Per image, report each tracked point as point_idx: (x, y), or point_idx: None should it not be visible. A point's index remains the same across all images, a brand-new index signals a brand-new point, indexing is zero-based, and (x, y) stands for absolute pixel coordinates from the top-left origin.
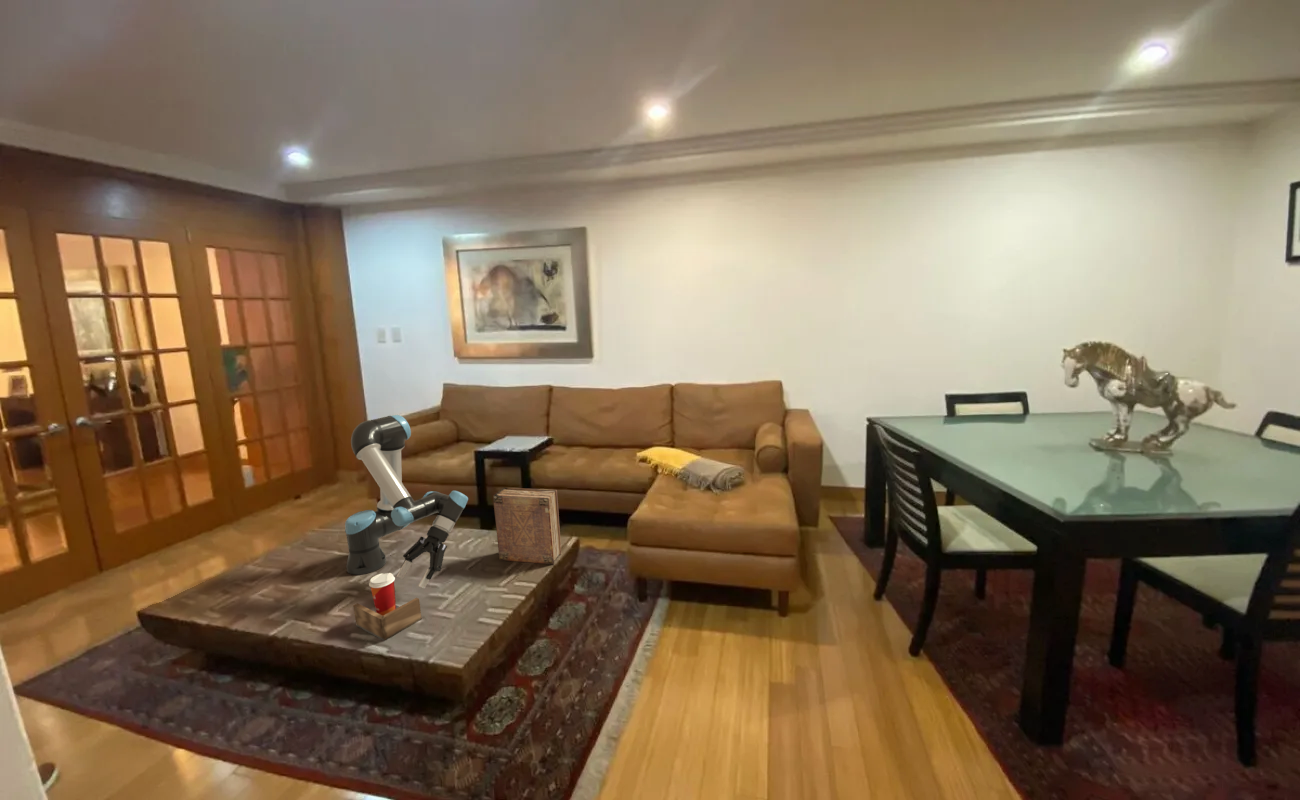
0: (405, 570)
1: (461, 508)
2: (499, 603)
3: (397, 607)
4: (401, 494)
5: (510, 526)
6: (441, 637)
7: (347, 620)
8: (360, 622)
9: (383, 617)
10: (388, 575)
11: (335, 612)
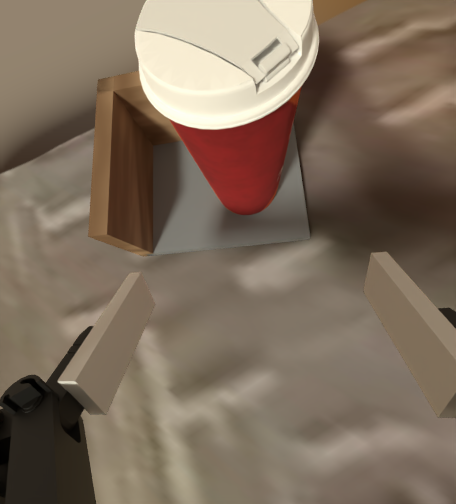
0: (394, 324)
1: None
2: None
3: (270, 234)
4: None
5: None
6: (22, 242)
7: (351, 107)
8: None
9: (101, 88)
10: (205, 61)
11: (449, 94)
